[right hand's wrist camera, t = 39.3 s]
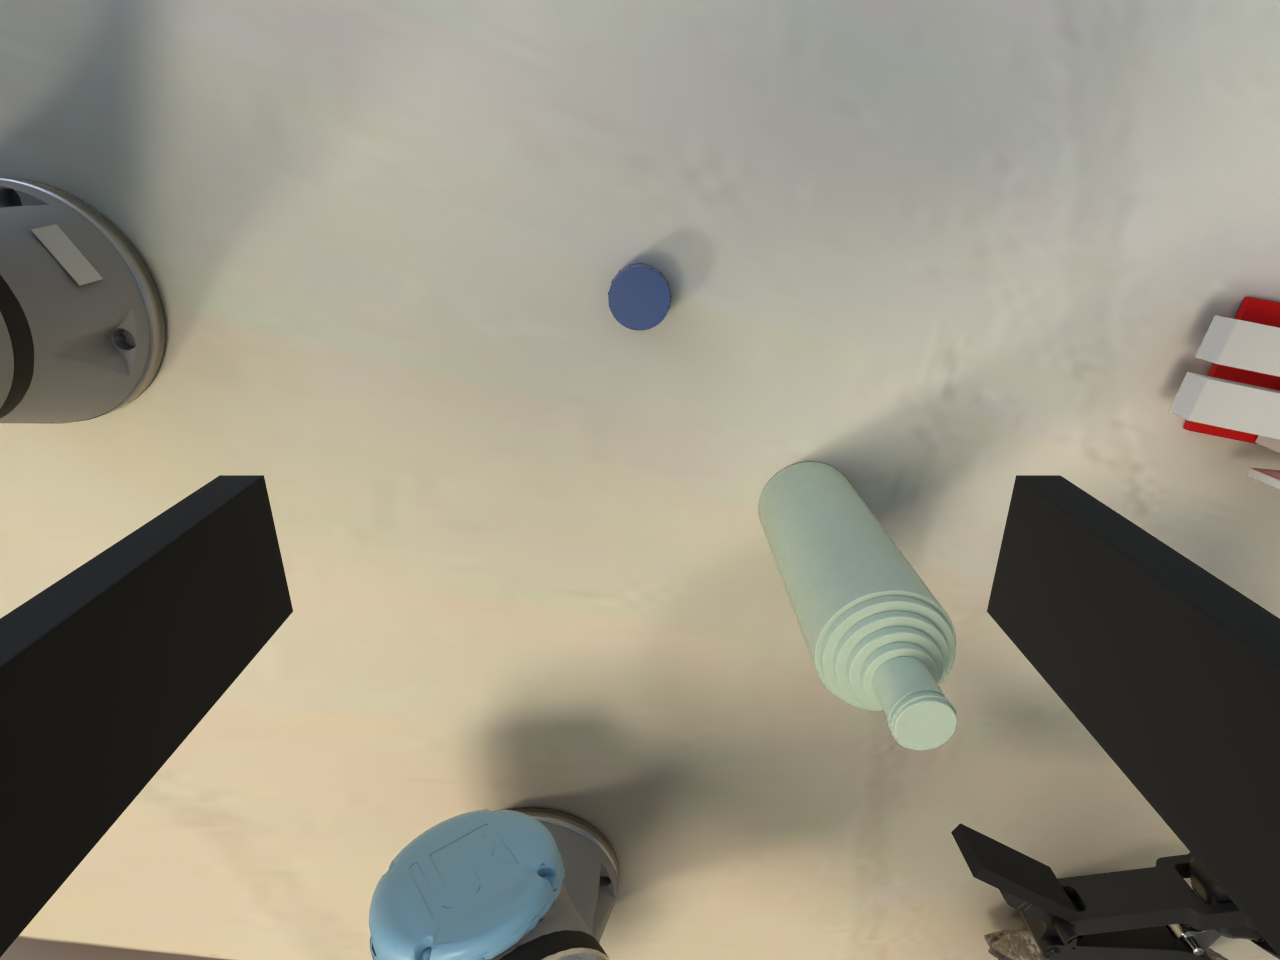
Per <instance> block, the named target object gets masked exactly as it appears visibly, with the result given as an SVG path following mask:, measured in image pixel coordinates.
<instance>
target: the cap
mask: <svg viewBox="0 0 1280 960" xmlns="http://www.w3.org/2000/svg"><path fill="white" fill-rule="evenodd" d="M611 283H612V285H611V288H610V290H609V292H608V295H609V306H610V309H611V312H612V314H613V316H614V317H615V318H616V320H617V321H618V322H619V323H620V324H622V325H623V326H625V327H627V328H629V329H633V330H646V329H650V328H652V327H654V326H656V325H657V324H659V323H660V322H661V321H662V320H663V319H664V317H665V316H666V314H667V312H668V310H669V308H670V301H671V300H670V297H671V294H670V291H669V287H668V286H669V284H668V282H666V280H665V278H664V276H663V275H662V272H659V271H658V270H657V269H655V268H654V267H653V266H652V265H651V266H649V265H646V264H641V263H640V264H633V265H629V266H628V267H625V268H624V269H622V270H621V271H619V273H618V274H617V275H616V277H615V278H614V279H613V280H612V282H611Z"/></svg>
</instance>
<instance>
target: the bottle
mask: <svg viewBox="0 0 1280 960" xmlns="http://www.w3.org/2000/svg"><path fill="white" fill-rule="evenodd" d="M759 518H760V521H761V524H762V527H763V530H764V532H765V535H766V538H767V540H768V543H769V546H770V548H771V551H772V554H773V556H774V559H775V562H776V564H777V567H778V570H779V572H780V575H781V578H782V580H783V583H784V585H785V588H786V591H787V593H788V596H789V599H790V601H791V604H792V607H793V609H794V612H795V615H796V617H797V620H798V623H799V625H800V628H801V631H802V633H803V636H804V639H805V641H806V644H807V647H808V649H809V652H810V655H811V657H812V660H813V663H814V665H815V668H816V671H817V673H818V675H819V677H820V679H821V681H822V682H823V684H824V685H825V686H826V688H827V689H828V690H829V691H830V692H832V693H833V694H834V695H835V696H837V697H838V698H840V699H842V700H843V701H845V702H847V703H848V704H850V705H853V706H855V707H858V708H861V709H865V710H871V711H884V713H885V715H886V717H887V720H888V726H889V729H890V730H891V733H892V735H893V737H894V738H895V740H896V741H897V742H898V743H899V744H900V745H901V746H903V747H905V748H907V749H908V748H910V749H913V750H930V749H934V748H936V747H939V746H941V745H942V744H944V743H945V742H947V741H948V740H949V739H950V738H951V737H952V735H953V734H954V732H955V730H956V727H957V717H956V710H955V709H954V707H953V705H952V703H951V702H950V701H949V700H948V699H946V697H945V696H944V694H943V693H942V691H941V689H940V688H939V686H940V685H941V684H942V682H943V681H944V680H945V679H946V677H947V675H948V674H949V672H950V670H951V668H952V665H953V662H954V658H955V647H956V635H955V630H954V627H953V624H952V621H951V620H950V618H949V616H948V614H947V613H946V612H945V610H944V609H943V608H942V606H941V605H940V604H939V602H938V601H937V600H936V598H935V597H934V596H933V594H932V593H931V592H930V590H929V589H928V588H927V586H926V585H925V584H924V582H923V581H922V579H921V578H920V577H919V575H918V574H917V573H916V571H915V570H914V569H913V567H912V566H911V565H910V563H909V562H908V561H907V559H906V558H905V557H904V555H903V554H902V553H901V551H900V550H899V549H898V547H897V546H896V545H895V543H894V542H893V541H892V539H891V538H890V537H889V535H888V534H887V532H886V531H885V530H884V528H883V527H882V526H881V524H880V523H879V522H878V520H877V519H876V518H875V516H874V515H873V514H872V512H871V511H870V510H869V508H868V507H867V506H866V504H865V503H864V502H863V500H862V499H861V498H860V496H859V495H858V494H857V492H856V491H855V489H854V488H853V487H852V485H851V484H850V483H849V481H848V480H847V479H846V478H845V476H844V475H843V474H842V473H841V472H839V471H838V470H837V469H835V468H833V467H831V466H829V465H826V464H823V463H818V462H802V463H797V464H794V465H791V466H789V467H786V468H785V469H783V470H781V471H780V472H778V473H777V474H776V475H775V476H774V477H772V478H771V479H770V481H769V482H768V483H767V484H766V486H765V488H764V489H763V492H762V494H761V497H760V500H759Z"/></svg>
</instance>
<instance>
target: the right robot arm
mask: <svg viewBox="0 0 1280 960" xmlns="http://www.w3.org/2000/svg"><path fill="white" fill-rule="evenodd" d="M164 345H165V321H164V314H163V309H162V304H161V301H160V297H159V294H158V291H157V289H156V286H155V284H154V281H153V279H152V277H151V275H150V273H149V271H148V269H147V267H146V266H145V264H144V262H143V261H142V259H141V257H140V256H139V255H138V253H137V252H136V250H135V249H134V248H133V246H132V245H131V244H130V243H129V241H128V240H127V239H126V238H125V237H124V235H123V234H122V233H121V232H120V231H119V230H118V229H117V228H116V227H115V226H114V225H113V224H112V223H110V222H109V221H108V220H107V219H106V218H105V217H104V216H102V215H101V214H100V213H98V212H97V211H96V210H95V209H93V208H92V207H90V206H89V205H87V204H86V203H84V202H83V201H81V200H79V199H77V198H76V197H74V196H72V195H70V194H68V193H66V192H64V191H61V190H59V189H57V188H54V187H51V186H48V185H45V184H42V183H38V182H34V181H30V180H23V179H12V178H0V423H70V422H77V421H84V420H89V419H92V418H96V417H99V416H101V415H104V414H106V413H109V412H111V411H114V410H116V409H119V408H121V407H123V406H125V405H127V404H129V403H130V402H131V401H133V400H134V399H136V398H137V397H138V396H139V395H140V394H141V393H142V392H143V391H144V390H145V389H146V388H147V387H148V386H149V384H150V383H151V381H152V380H153V378H154V377H155V375H156V373H157V370H158V368H159V366H160V363H161V360H162V356H163V351H164ZM292 612H293V609H292V605H291V600H290V595H289V591H288V586H287V581H286V577H285V572H284V567H283V563H282V558H281V554H280V549H279V544H278V540H277V535H276V530H275V526H274V521H273V516H272V512H271V507H270V502H269V498H268V493H267V489H266V484H265V479H264V476H218V477H217V478H215V479H214V480H212V481H211V482H209V483H208V484H206V485H205V486H203V487H202V488H200V489H199V490H197V491H195V492H194V493H192V494H191V495H189V496H188V497H186V498H185V499H183V500H182V501H180V502H179V503H177V504H176V505H174V506H173V507H171V508H169V509H168V510H166V511H165V512H163V513H162V514H160V515H159V516H157V517H156V518H154V519H153V520H151V521H150V522H148V523H146V524H145V525H143V526H142V527H140V528H139V529H137V530H136V531H134V532H133V533H131V534H130V535H128V536H127V537H125V538H123V539H122V540H120V541H119V542H117V543H116V544H114V545H113V546H111V547H110V548H108V549H107V550H105V551H104V552H102V553H101V554H99V555H97V556H96V557H94V558H93V559H91V560H90V561H88V562H87V563H85V564H84V565H82V566H81V567H79V568H78V569H76V570H74V571H73V572H71V573H70V574H68V575H67V576H65V577H64V578H62V579H61V580H59V581H58V582H56V583H55V584H53V585H51V586H50V587H48V588H47V589H45V590H44V591H42V592H41V593H39V594H38V595H36V596H35V597H33V598H32V599H30V600H29V601H27V602H25V603H24V604H22V605H21V606H19V607H18V608H16V609H15V610H13V611H12V612H10V613H9V614H7V615H6V616H4V617H2V618H1V619H0V957H1V956H2V955H3V953H4V952H5V951H6V950H7V949H8V947H9V946H10V945H11V944H12V943H13V941H14V940H15V939H16V938H17V937H18V936H19V934H20V933H21V932H22V931H23V930H24V929H25V927H26V926H27V925H28V924H29V923H30V921H31V920H32V919H33V918H34V917H35V916H36V914H37V913H38V912H39V911H40V910H41V908H42V907H43V906H44V905H45V904H46V903H47V901H48V900H49V899H50V898H51V897H52V895H53V894H54V893H55V892H56V891H57V890H58V888H59V887H60V886H61V885H62V884H63V882H64V881H65V880H66V879H67V878H68V877H69V875H70V874H71V873H72V872H73V871H74V869H75V868H76V867H77V866H78V865H79V864H80V862H81V861H82V860H83V859H84V858H85V856H86V855H87V854H88V853H89V852H90V851H91V849H92V848H93V847H94V846H95V845H96V843H97V842H98V841H99V840H100V839H101V838H102V836H103V835H104V834H105V833H106V832H107V830H108V829H109V828H110V827H111V826H112V825H113V823H114V822H115V821H116V820H117V819H118V817H119V816H120V815H121V814H122V813H123V812H124V810H125V809H126V808H127V807H128V806H129V804H130V803H131V802H132V801H133V800H134V799H135V797H136V796H137V795H138V794H139V793H140V791H141V790H142V789H143V788H144V787H145V786H146V784H147V783H148V782H149V781H150V780H151V778H152V777H153V776H154V775H155V774H156V773H157V771H158V770H159V769H160V768H161V767H162V765H163V764H164V763H165V762H166V761H167V760H168V758H169V757H170V756H171V755H172V754H173V752H174V751H175V750H176V749H177V748H178V747H179V745H180V744H181V743H182V742H183V741H184V739H185V738H186V737H187V736H188V735H189V734H190V732H191V731H192V730H193V729H194V728H195V726H196V725H197V724H198V723H199V722H200V721H201V719H202V718H203V717H204V716H205V715H206V713H207V712H208V711H209V710H210V709H211V708H212V706H213V705H214V704H215V703H216V702H217V700H218V699H219V698H220V697H221V696H222V695H223V693H224V692H225V691H226V690H227V689H228V687H229V686H230V685H231V684H232V683H233V682H234V680H235V679H236V678H237V677H238V676H239V674H240V673H241V672H242V671H243V670H244V669H245V667H246V666H247V665H248V664H249V663H250V661H251V660H252V659H253V658H254V657H255V656H256V654H257V653H258V652H259V651H260V650H261V649H262V647H263V646H264V645H265V644H266V643H267V641H268V640H269V639H270V638H271V637H272V636H273V634H274V633H275V632H276V631H277V630H278V628H279V627H280V626H281V625H282V624H283V623H284V621H285V620H286V619H287V618H288V617H289V615H290V614H291V613H292ZM987 612H988V613H989V614H990V615H991V617H992V618H993V619H994V620H995V621H996V623H997V624H998V625H999V626H1000V627H1001V628H1002V630H1003V631H1004V632H1005V633H1006V634H1007V636H1008V637H1009V638H1010V639H1011V640H1012V641H1013V643H1014V644H1015V645H1016V646H1017V647H1018V649H1019V650H1020V651H1021V652H1022V653H1023V654H1024V656H1025V657H1026V658H1027V659H1028V660H1029V661H1030V663H1031V664H1032V665H1033V666H1034V667H1035V669H1036V670H1037V671H1038V672H1039V673H1040V674H1041V676H1042V677H1043V678H1044V679H1045V680H1046V682H1047V683H1048V684H1049V685H1050V686H1051V687H1052V689H1053V690H1054V691H1055V692H1056V693H1057V695H1058V696H1059V697H1060V698H1061V699H1062V700H1063V702H1064V703H1065V704H1066V705H1067V706H1068V708H1069V709H1070V710H1071V711H1072V712H1073V713H1074V715H1075V716H1076V717H1077V718H1078V719H1079V721H1080V722H1081V723H1082V724H1083V725H1084V726H1085V728H1086V729H1087V730H1088V731H1089V732H1090V734H1091V735H1092V736H1093V737H1094V738H1095V739H1096V741H1097V742H1098V743H1099V744H1100V745H1101V747H1102V748H1103V749H1104V750H1105V751H1106V752H1107V754H1108V755H1109V756H1110V757H1111V758H1112V760H1113V761H1114V762H1115V763H1116V764H1117V765H1118V767H1119V768H1120V769H1121V770H1122V771H1123V773H1124V774H1125V775H1126V776H1127V777H1128V778H1129V780H1130V781H1131V782H1132V783H1133V784H1134V786H1135V787H1136V788H1137V789H1138V790H1139V791H1140V793H1141V794H1142V795H1143V796H1144V797H1145V799H1146V800H1147V801H1148V802H1149V803H1150V804H1151V806H1152V807H1153V808H1154V809H1155V810H1156V812H1157V813H1158V814H1159V815H1160V816H1161V817H1162V819H1163V820H1164V821H1165V822H1166V823H1167V825H1168V826H1169V827H1170V828H1171V829H1172V830H1173V832H1174V833H1175V834H1176V835H1177V836H1178V838H1179V839H1180V840H1181V841H1182V842H1183V843H1184V845H1185V846H1186V847H1187V848H1188V849H1189V851H1190V852H1191V853H1192V854H1193V855H1194V856H1195V858H1196V859H1197V860H1198V861H1199V862H1200V864H1201V865H1202V866H1203V867H1204V868H1205V869H1206V871H1207V872H1208V873H1209V874H1210V875H1211V877H1212V878H1213V879H1214V880H1215V881H1216V882H1217V884H1218V885H1219V886H1220V887H1221V888H1222V890H1223V891H1224V892H1225V893H1226V894H1227V895H1228V897H1229V898H1230V899H1231V900H1232V901H1233V903H1234V904H1235V905H1236V906H1237V907H1238V908H1239V910H1240V911H1241V912H1242V913H1243V914H1244V916H1245V917H1246V918H1247V919H1248V920H1249V921H1250V923H1251V924H1252V925H1253V926H1254V927H1255V929H1256V930H1257V931H1258V932H1259V933H1260V934H1261V936H1262V937H1263V938H1264V939H1265V940H1266V942H1267V943H1268V944H1269V945H1270V946H1271V947H1272V949H1273V950H1274V951H1275V952H1276V953H1277V955H1278V956H1279V957H1280V619H1279V618H1278V617H1276V616H1274V615H1273V614H1271V613H1270V612H1268V611H1267V610H1265V609H1264V608H1262V607H1261V606H1259V605H1258V604H1256V603H1255V602H1253V601H1251V600H1250V599H1248V598H1247V597H1245V596H1244V595H1242V594H1241V593H1239V592H1238V591H1236V590H1235V589H1233V588H1232V587H1230V586H1229V585H1227V584H1225V583H1224V582H1222V581H1221V580H1219V579H1218V578H1216V577H1215V576H1213V575H1212V574H1210V573H1209V572H1207V571H1206V570H1204V569H1202V568H1201V567H1199V566H1198V565H1196V564H1195V563H1193V562H1192V561H1190V560H1189V559H1187V558H1186V557H1184V556H1183V555H1181V554H1179V553H1178V552H1176V551H1175V550H1173V549H1172V548H1170V547H1169V546H1167V545H1166V544H1164V543H1163V542H1161V541H1160V540H1158V539H1157V538H1155V537H1153V536H1152V535H1150V534H1149V533H1147V532H1146V531H1144V530H1143V529H1141V528H1140V527H1138V526H1137V525H1135V524H1134V523H1132V522H1130V521H1129V520H1127V519H1126V518H1124V517H1123V516H1121V515H1120V514H1118V513H1117V512H1115V511H1114V510H1112V509H1111V508H1109V507H1107V506H1106V505H1104V504H1103V503H1101V502H1100V501H1098V500H1097V499H1095V498H1094V497H1092V496H1091V495H1089V494H1088V493H1086V492H1085V491H1083V490H1081V489H1080V488H1078V487H1077V486H1075V485H1074V484H1072V483H1071V482H1069V481H1068V480H1066V479H1065V478H1063V477H1062V476H1016V479H1015V484H1014V489H1013V493H1012V498H1011V502H1010V507H1009V512H1008V516H1007V521H1006V526H1005V530H1004V535H1003V540H1002V544H1001V549H1000V554H999V558H998V563H997V567H996V572H995V577H994V581H993V586H992V591H991V595H990V600H989V605H988V609H987Z"/></svg>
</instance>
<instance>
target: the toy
mask: <svg viewBox="0 0 1280 960" xmlns="http://www.w3.org/2000/svg"><path fill="white" fill-rule="evenodd" d="M1195 357H1196V358H1199V359H1202V360H1206V361H1209V362H1212V363H1214V364H1213V366H1212V368H1211V370H1210V372H1209V375H1208V376H1205V375H1201V374H1196V373H1191V372H1187V374H1186V376H1185V378H1184V380H1183V382H1182V384H1181V386H1180V388H1179V390H1178V392H1177V394H1176V396H1175V398H1174V400H1173V403H1172V405H1171V407H1170V409H1169V411H1168V412H1170V413H1173V414H1175V415H1177V416H1179V417H1181V418H1183V419H1186V420H1187V421H1186V423H1185V425H1184V427H1183V428H1184V429H1186V430H1189V431H1194V432H1199V433H1204V434H1209V435H1215V436H1220V437H1225V438H1230V439H1235V440H1240V441H1245V442H1250V443H1255V444H1260V445H1262V446H1264V447H1267V448H1269V449H1271V450H1273V451H1276V452H1278V453H1280V303H1279V302H1273V301H1267V300H1262V299H1256V298H1250V297H1245V298H1244V300H1243V302H1242V305H1241V307H1240V309H1239V311H1238V313H1237V315H1236V317H1235V319H1233V318H1228V317H1223V316H1218V315H1215V316H1214V318H1213V321H1212V323H1211V325H1210V327H1209V329H1208V331H1207V333H1206V335H1205V337H1204V339H1203V341H1202V343H1201V345H1200V347H1199V349H1198V351H1197V353H1196V355H1195ZM1247 476H1249V477H1251V478H1254V479H1256V480H1258V481H1261V482H1263V483H1265V484H1267V485H1270V486H1272V487H1274V488H1277V489H1279V490H1280V470H1268V469H1257V468H1249V471H1248V473H1247Z"/></svg>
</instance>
